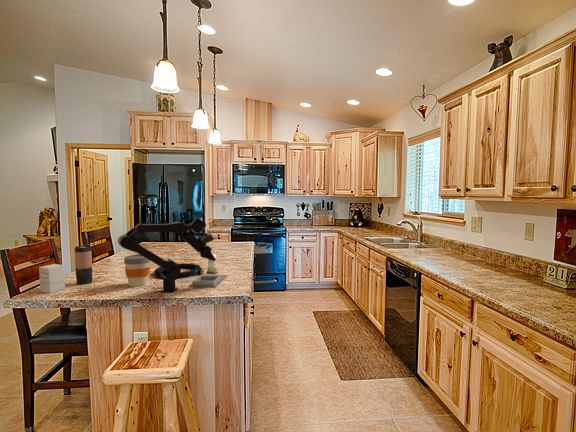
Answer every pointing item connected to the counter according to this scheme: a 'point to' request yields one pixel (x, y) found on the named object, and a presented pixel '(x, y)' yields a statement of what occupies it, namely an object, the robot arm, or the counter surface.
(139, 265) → the reusable coffee cup
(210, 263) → the light bulb lamp
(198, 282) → the holder dock
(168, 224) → the robot arm
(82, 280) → the travel mug
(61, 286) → the supplement box
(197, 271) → the cable lock
